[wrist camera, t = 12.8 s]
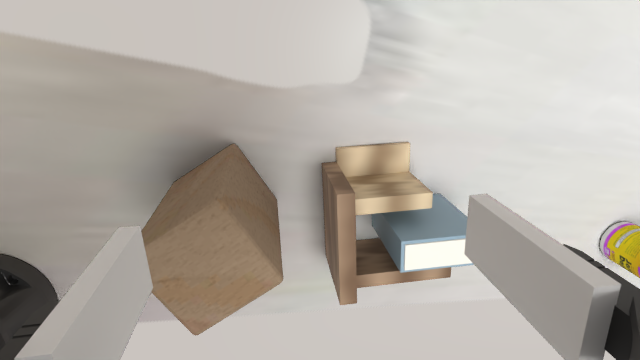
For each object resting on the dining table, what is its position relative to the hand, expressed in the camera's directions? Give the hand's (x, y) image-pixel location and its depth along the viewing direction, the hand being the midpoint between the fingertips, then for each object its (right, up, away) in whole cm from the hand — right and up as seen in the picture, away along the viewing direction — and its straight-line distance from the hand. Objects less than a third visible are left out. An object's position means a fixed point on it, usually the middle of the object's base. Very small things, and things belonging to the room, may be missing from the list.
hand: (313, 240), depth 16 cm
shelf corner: (+8, -1, +41) cm, 42 cm away
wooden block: (-12, +1, +37) cm, 39 cm away
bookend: (+7, +4, +39) cm, 40 cm away
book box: (+13, -2, +42) cm, 44 cm away
